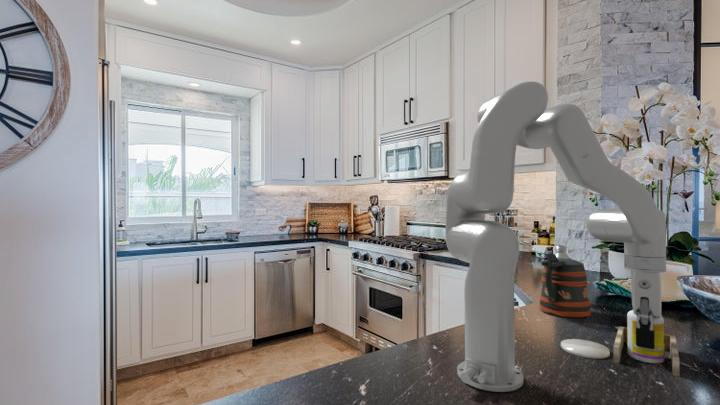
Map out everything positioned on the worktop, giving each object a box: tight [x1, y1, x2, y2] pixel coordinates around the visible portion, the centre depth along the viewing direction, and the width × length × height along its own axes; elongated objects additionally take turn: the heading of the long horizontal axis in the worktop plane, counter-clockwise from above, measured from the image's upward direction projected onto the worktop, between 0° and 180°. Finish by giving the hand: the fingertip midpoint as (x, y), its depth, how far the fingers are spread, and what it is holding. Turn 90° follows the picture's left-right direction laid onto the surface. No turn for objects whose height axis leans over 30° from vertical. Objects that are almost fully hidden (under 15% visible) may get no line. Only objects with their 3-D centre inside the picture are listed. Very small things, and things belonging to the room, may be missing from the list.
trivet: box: [560, 338, 611, 360], centre depth 88 cm, size 10×10×1 cm
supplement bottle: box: [626, 300, 666, 364], centre depth 83 cm, size 7×7×13 cm
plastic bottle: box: [554, 245, 570, 259], centre depth 132 cm, size 6×7×20 cm
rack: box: [612, 326, 680, 377], centre depth 84 cm, size 17×11×4 cm, turn 141°
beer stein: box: [538, 252, 592, 319], centre depth 118 cm, size 19×15×20 cm
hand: (645, 341), depth 83 cm, fingers closed on supplement bottle, 6 cm apart
